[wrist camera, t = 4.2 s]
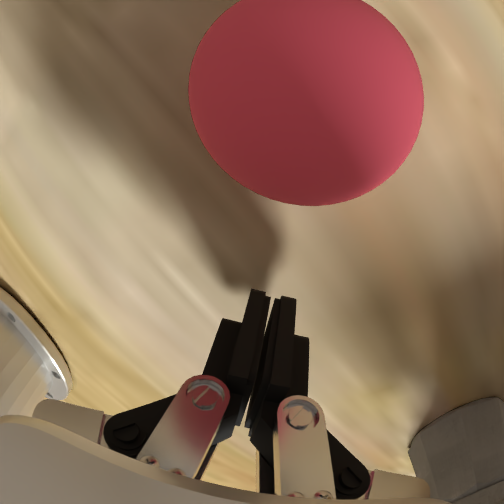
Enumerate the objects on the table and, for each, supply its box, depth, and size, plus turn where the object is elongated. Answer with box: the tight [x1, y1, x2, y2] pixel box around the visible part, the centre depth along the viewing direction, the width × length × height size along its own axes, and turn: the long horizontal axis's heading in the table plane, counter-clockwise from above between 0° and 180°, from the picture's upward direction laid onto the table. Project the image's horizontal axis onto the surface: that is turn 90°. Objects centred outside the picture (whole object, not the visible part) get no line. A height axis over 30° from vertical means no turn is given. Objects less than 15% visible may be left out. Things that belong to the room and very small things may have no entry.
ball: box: [188, 0, 424, 206], centre depth 6 cm, size 6×6×6 cm
